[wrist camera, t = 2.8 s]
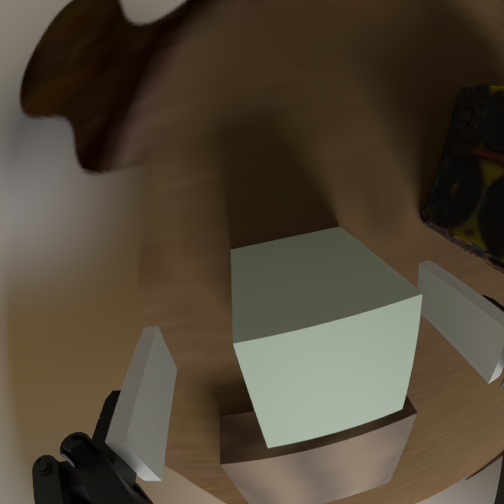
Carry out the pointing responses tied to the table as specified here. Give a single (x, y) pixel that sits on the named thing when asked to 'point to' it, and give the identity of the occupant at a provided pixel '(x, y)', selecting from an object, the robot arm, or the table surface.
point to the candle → (472, 177)
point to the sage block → (321, 334)
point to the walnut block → (312, 459)
